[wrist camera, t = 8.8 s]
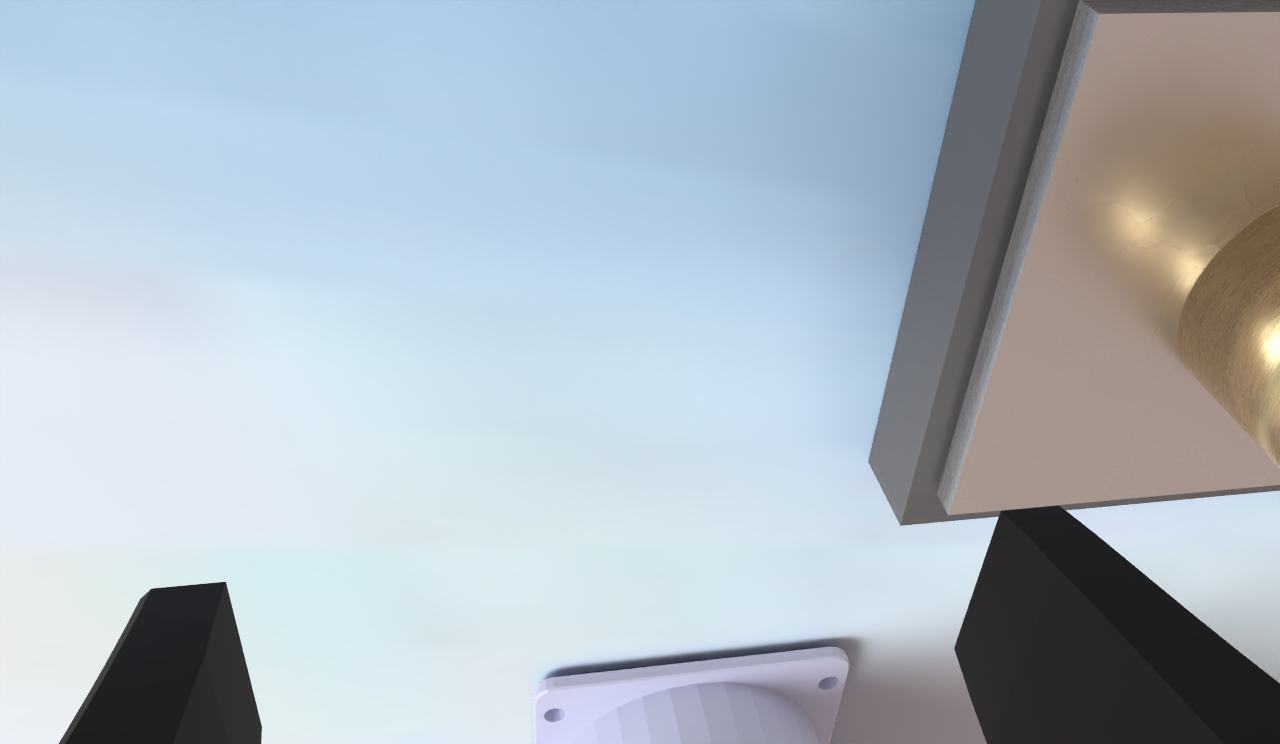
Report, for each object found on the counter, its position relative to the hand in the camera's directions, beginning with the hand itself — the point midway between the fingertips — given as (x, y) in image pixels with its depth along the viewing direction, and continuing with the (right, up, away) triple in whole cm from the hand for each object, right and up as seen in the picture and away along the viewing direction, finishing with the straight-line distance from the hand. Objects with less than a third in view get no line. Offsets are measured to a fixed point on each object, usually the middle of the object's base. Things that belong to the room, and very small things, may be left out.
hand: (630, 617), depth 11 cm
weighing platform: (+12, +4, +10) cm, 16 cm away
